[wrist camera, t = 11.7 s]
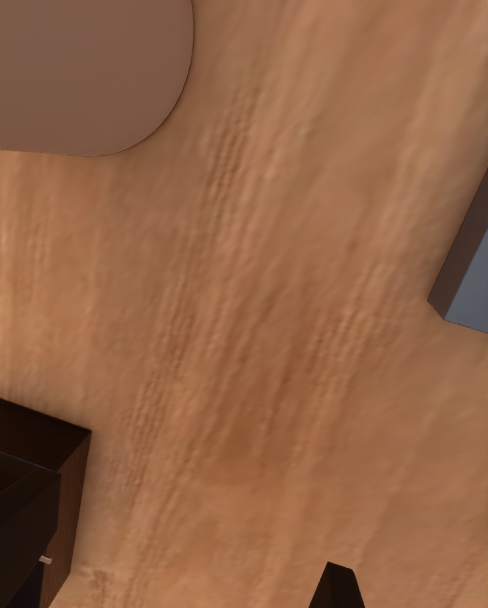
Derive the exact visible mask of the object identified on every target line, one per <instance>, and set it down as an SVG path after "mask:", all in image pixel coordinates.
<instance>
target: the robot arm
mask: <svg viewBox="0 0 488 608" xmlns="http://www.w3.org/2000/svg"><path fill="white" fill-rule="evenodd" d="M61 475H62V474H60V473H57V472H54V471H51V470H48V469H45V468H42V467H40V468H38V469H36V470H34V471H33V472H31V473H30V474H28V475H27V476H25V477H24V478H22V479H20V480H19V481H17V482H16V483H14V484H13V485H11V486H10V487H8V488H7V489H5V490H3V491H2V492H0V608H5V607H6V606H7V604H8V603H9V602H10V600H11V599H12V598H13V596H14V595H15V594H16V592H17V591H18V590H19V588H20V587H21V586H22V584H23V583H24V582H25V580H26V579H27V577H28V576H29V575H30V573H31V572H32V571H33V569H34V567H35V566H36V564H37V563H38V561H39V559H40V558H41V556H42V555H43V553H44V551H45V550H46V548H47V546H48V545H49V543H50V541H51V539H52V538H53V536H54V534H55V533H56V531H57V527H58V514H59V501H60V488H61ZM309 608H365V606H364V603H363V599H362V596H361V593H360V590H359V586H358V583H357V580H356V576H355V574H354V572H353V570H352V569H349V568H346V567H343V566H340V565H337V564H334V563H331V562H327V565H326V567H325V569H324V572H323V574H322V577H321V579H320V581H319V584H318V586H317V589H316V591H315V593H314V596H313V598H312V601H311V603H310V605H309Z"/></svg>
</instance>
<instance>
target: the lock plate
mask: <svg viewBox="0 0 488 608" xmlns="http://www.w3.org/2000/svg"><path fill="white" fill-rule="evenodd" d="M90 436H91V431H90V430H87V429H84V428H82V427H79V426H76V425H73V424H70V423H67V422H65V421H62V420H59V419H56V418H53V417H50V416H48V415H45V414H42V413H39V412H36V411H33V410H31V409H28V408H25V407H22V406H19V405H16V404H14V403H11V402H8V401H5V400H2V399H0V492H2V491H3V490H5V489H7V488H8V487H10V486H11V485H13V484H14V483H16V482H17V481H19V480H20V479H22V478H24V477H25V476H27V475H28V474H30V473H31V472H33V471H34V470H36V469H38V468H40V467H42V468H45V469H48V470H51V471H54V472H57V473H60V474H62V475H61V488H60V501H59V514H58V527H57V531H56V533H55V534H54V536H53V538H52V539H51V541H50V543H49V545H48V546H47V548H46V550H45V551H44V553H43V555H42V556H41V558H40V559H39V561H38V563H37V564H36V566H35V567H34V569H33V571H32V572H31V573H30V575H29V576H28V577H27V579H26V580H25V582H24V583H23V584H22V586H21V587H20V588H19V590H18V591H17V592H16V594H15V595H14V596H13V598H12V599H11V600H10V602H9V603H8V604H7V606H6V607H5V608H49V606H50V605H51V603H52V601H53V600H54V598H55V596H56V595H57V593H58V592H59V590H60V588H61V587H62V585H63V584H64V582H65V580H66V579H67V577H68V575H69V572H70V566H71V559H72V553H73V546H74V540H75V534H76V527H77V521H78V514H79V508H80V501H81V495H82V488H83V482H84V475H85V469H86V462H87V456H88V449H89V443H90Z"/></svg>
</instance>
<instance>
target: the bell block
mask: <svg viewBox="0 0 488 608" xmlns="http://www.w3.org/2000/svg"><path fill="white" fill-rule="evenodd" d="M428 301H429V302H430V304H431V305H432V306H433V307H434V309H435V310H436V311H437V312H438V314H439V315H440V316H441V317H442V319H443V320H445V321H448V322H452V323H455V324H458V325H462V326H465V327H468V328H471V329H475V330H478V331H481V332H484V333H488V169H487V171H486V173H485V176H484V178H483V180H482V182H481V184H480V187H479V189H478V191H477V193H476V195H475V197H474V200H473V202H472V204H471V206H470V208H469V211H468V213H467V215H466V217H465V219H464V221H463V224H462V226H461V228H460V230H459V232H458V235H457V237H456V239H455V241H454V243H453V245H452V248H451V250H450V252H449V254H448V256H447V258H446V261H445V263H444V265H443V267H442V269H441V272H440V274H439V276H438V278H437V280H436V282H435V285H434V287H433V289H432V291H431V293H430V296H429V298H428Z"/></svg>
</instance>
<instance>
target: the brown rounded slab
mask: <svg viewBox="0 0 488 608" xmlns="http://www.w3.org/2000/svg"><path fill="white" fill-rule="evenodd" d="M193 37H194V22H193V10H192V3H191V0H0V150H6V151H24V152H39V153H50V154H60V155H71V156H86V157H88V156H103V155H109V154H113V153H117V152H120V151H123V150H125V149H128V148H130V147H132V146H134V145H135V144H137V143H139V142H140V141H142V140H144V139H145V138H146V137H148V136H149V135H150V134H151V133H153V132H154V131H155V130H156V129H157V128H158V127H159V126H160V125H161V123H162V122H163V121H164V120H165V119H166V117H167V116H168V115H169V113H170V112H171V110H172V109H173V107H174V106H175V104H176V102H177V100H178V98H179V96H180V94H181V92H182V89H183V87H184V84H185V81H186V79H187V75H188V71H189V67H190V63H191V57H192V50H193Z"/></svg>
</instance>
